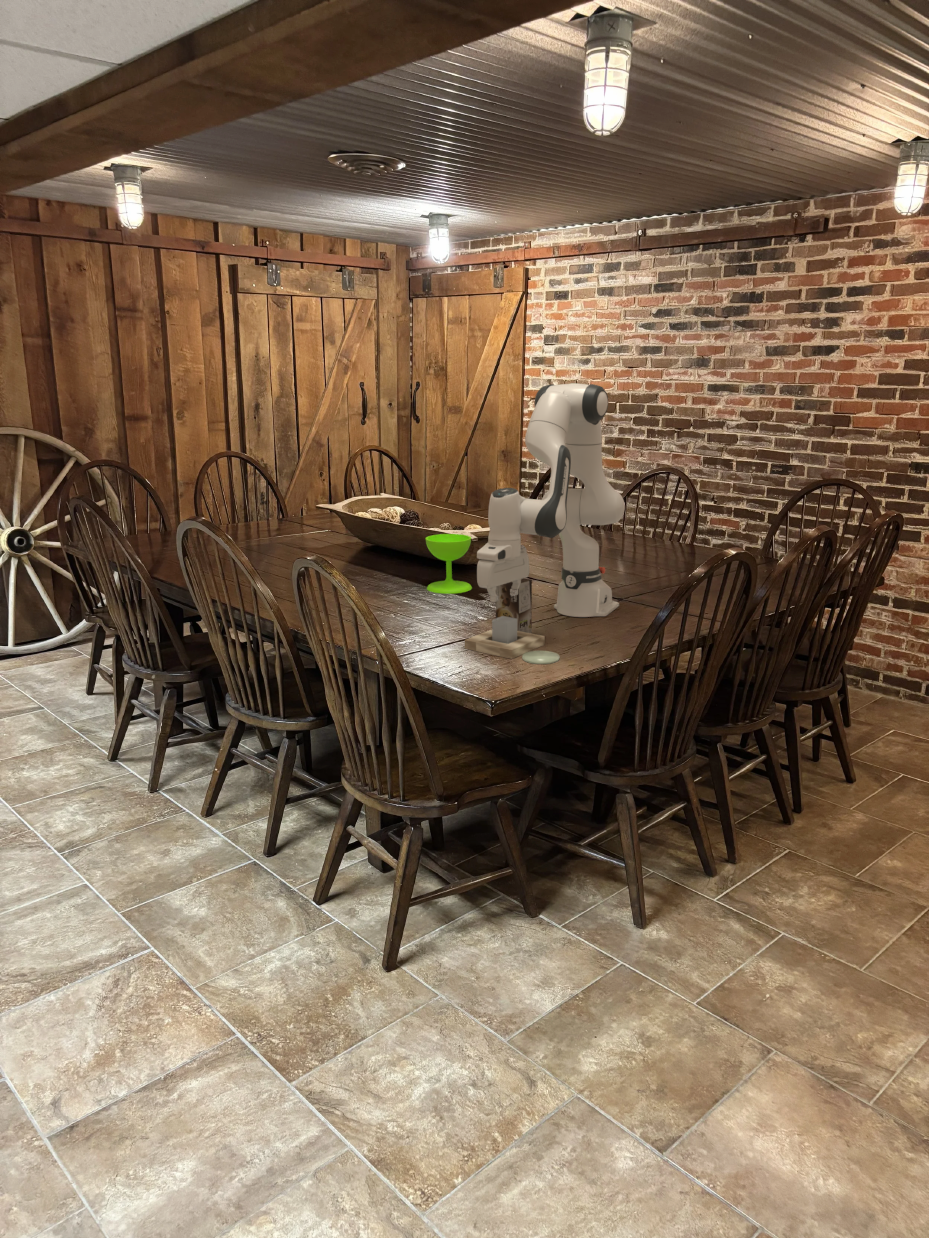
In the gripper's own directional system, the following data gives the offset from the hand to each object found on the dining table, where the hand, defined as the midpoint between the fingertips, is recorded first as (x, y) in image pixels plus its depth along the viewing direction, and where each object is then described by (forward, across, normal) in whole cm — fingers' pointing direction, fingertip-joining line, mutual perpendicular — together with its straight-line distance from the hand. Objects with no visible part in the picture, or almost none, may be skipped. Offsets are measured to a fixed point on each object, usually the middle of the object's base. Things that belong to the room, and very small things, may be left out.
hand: (504, 598), depth 252 cm
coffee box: (+14, -14, -6) cm, 20 cm away
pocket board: (+14, -1, 0) cm, 14 cm away
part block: (+14, -1, 0) cm, 14 cm away
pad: (+14, +2, +14) cm, 20 cm away
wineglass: (+13, -46, -56) cm, 73 cm away
